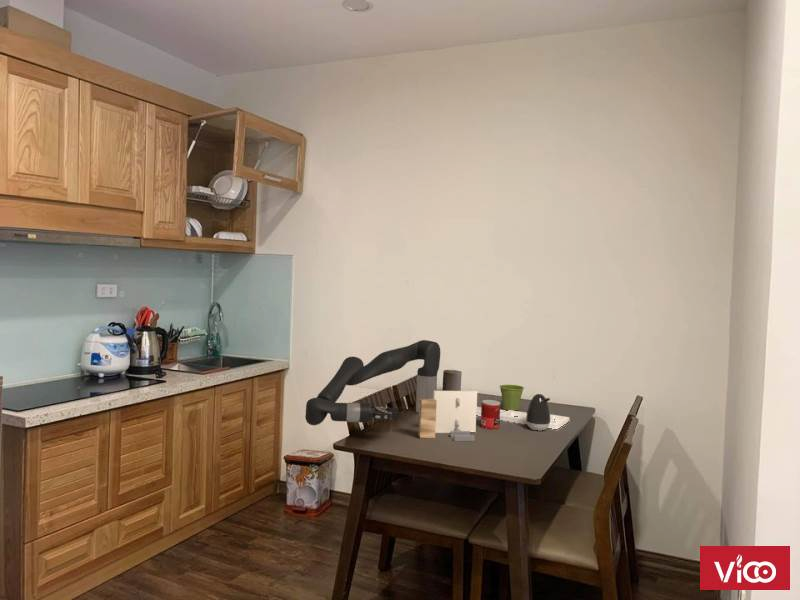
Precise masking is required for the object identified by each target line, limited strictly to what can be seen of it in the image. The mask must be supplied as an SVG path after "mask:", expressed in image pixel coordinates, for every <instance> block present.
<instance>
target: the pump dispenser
mask: <svg viewBox="0 0 800 600" xmlns="http://www.w3.org/2000/svg"><path fill="white" fill-rule="evenodd" d="M550 400H551V399H550V397H545V395H543V394H541V393H537V394H535V395H533V397H532V399H531V400H530V401H529V404H528V407H527V410H526V413H527V415H526V421H527V425H526V426H528V427H529V429H530V430H533V431H536V430H538V431H537V432H542V430H543V431H545V430H547V428H548V426H549V423H550V414H551V412H550V411H551V410H550V407H549V403H548V402H549V401H550Z"/></svg>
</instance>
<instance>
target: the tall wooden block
mask: <svg viewBox="0 0 800 600" xmlns="http://www.w3.org/2000/svg"><path fill="white" fill-rule="evenodd" d="M436 404H437V401H436V400H435V399H420V406H419V413H418V432H417V433H418V434H417V435H418V436H419V437H420V438H435V439H436V433H435V427H436ZM419 437H418V438H419ZM420 438H419V439H420Z"/></svg>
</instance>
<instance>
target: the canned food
mask: <svg viewBox="0 0 800 600" xmlns="http://www.w3.org/2000/svg"><path fill="white" fill-rule="evenodd" d="M480 407H481V417H480V427H481V428H482V427H483V429H485V428H487V429H486V430H497V429H498V430H499V428H500V424H501V423H500V421H501V420H500V410H501V401H498V400H494V399H484V400H481V406H480Z"/></svg>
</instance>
